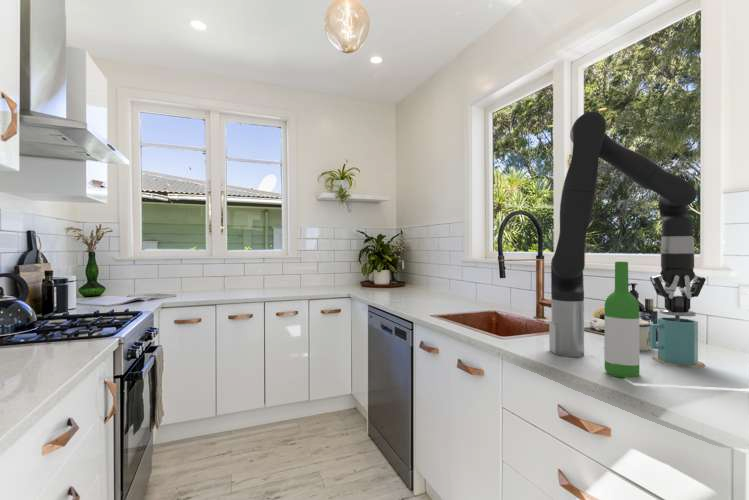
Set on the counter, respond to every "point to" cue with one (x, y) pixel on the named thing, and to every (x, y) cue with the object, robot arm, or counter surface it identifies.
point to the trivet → (679, 365)
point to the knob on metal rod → (678, 309)
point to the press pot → (676, 341)
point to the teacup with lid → (643, 334)
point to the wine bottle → (621, 328)
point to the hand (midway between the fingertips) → (677, 310)
